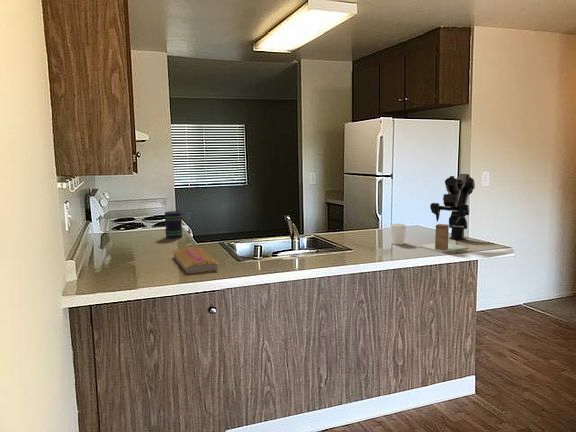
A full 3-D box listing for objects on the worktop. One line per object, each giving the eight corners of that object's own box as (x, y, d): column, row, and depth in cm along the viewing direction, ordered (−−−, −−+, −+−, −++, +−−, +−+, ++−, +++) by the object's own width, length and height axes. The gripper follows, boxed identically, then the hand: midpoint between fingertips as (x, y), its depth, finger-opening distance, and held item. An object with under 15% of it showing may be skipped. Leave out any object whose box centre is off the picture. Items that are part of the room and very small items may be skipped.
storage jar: (162, 237, 275) (160, 212, 273) (174, 235, 283) (173, 210, 281) (174, 239, 270) (173, 213, 268) (186, 236, 278) (185, 211, 276)
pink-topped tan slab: (172, 258, 224) (171, 245, 223) (201, 255, 230) (201, 242, 229) (185, 275, 192) (185, 261, 191) (219, 271, 198) (219, 257, 197)
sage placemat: (443, 242, 249) (443, 241, 249) (467, 248, 235) (467, 247, 235) (418, 246, 241) (418, 245, 241) (441, 252, 227) (441, 251, 227)
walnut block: (437, 247, 236) (438, 223, 234) (447, 248, 233) (448, 224, 231) (435, 249, 231) (435, 225, 230) (445, 250, 229) (446, 226, 227)
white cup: (404, 241, 253) (404, 223, 252) (406, 244, 246) (406, 226, 244) (389, 241, 254) (389, 223, 253) (391, 244, 246) (391, 226, 245)
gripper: (431, 187, 244) (424, 210, 236) (469, 188, 234) (463, 213, 226) (435, 201, 251) (428, 224, 244) (471, 202, 241) (466, 226, 234)
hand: (446, 221), depth 237 cm, fingers open, 9 cm apart
